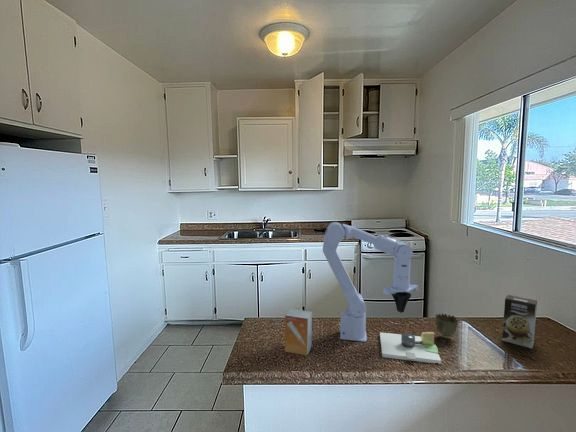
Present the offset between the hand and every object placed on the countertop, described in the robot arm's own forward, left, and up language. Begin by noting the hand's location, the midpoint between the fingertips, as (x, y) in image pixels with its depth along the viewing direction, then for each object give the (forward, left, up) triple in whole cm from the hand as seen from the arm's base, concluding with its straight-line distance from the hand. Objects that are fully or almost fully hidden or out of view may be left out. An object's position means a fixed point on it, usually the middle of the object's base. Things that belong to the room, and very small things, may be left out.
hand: (400, 311), depth 116 cm
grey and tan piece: (+5, -6, -9) cm, 12 cm away
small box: (-35, -17, -11) cm, 40 cm away
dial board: (+2, -7, -10) cm, 13 cm away
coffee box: (+42, +8, -11) cm, 44 cm away
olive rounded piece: (+17, +5, -11) cm, 21 cm away
